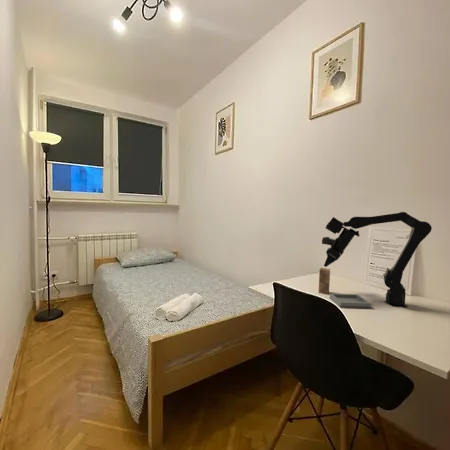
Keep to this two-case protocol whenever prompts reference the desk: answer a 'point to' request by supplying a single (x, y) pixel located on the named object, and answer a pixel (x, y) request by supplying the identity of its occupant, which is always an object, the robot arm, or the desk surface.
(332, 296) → the tray
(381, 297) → the desk surface
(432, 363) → the desk surface
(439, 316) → the desk surface
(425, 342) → the desk surface
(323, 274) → the block
